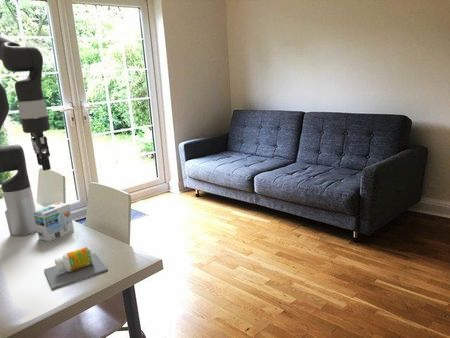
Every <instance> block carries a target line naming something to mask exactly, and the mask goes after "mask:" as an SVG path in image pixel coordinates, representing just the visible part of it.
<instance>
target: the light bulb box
mask: <svg viewBox="0 0 450 338" xmlns="http://www.w3.org/2000/svg"><path fill="white" fill-rule="evenodd" d="M33 213H34V218H35V223H36V227H37V231H36V232H37V235H38V239H39V240H42V241H45V242H48V243H49V242H52V241H54V240H56V239H59V238H61V237H63V236H66V235H68V234H71V233H73V232H74V231H75V228H74V223H73V218H72V213H71V207H70V203H66V202H65V203H64V202H60V201H57V202H55V203H53V204H49V205H46V206H44V207H41V208H39V209H36V210H35V211H33Z"/></svg>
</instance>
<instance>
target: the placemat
mask: <svg viewBox="0 0 450 338" xmlns="http://www.w3.org/2000/svg"><path fill="white" fill-rule="evenodd" d="M92 254H93V259H94V263H93V264H92V265H89V266H86V267H83V268H80V269H77V270H74V271H71V272H67V271H66V270H64V271H63V272H60V273H58V271H57V268H56V265H54V266H51V267H47V268H44V269H43V272H44V274H45V276H46V278H47V281H48V283H49V286H50V287H51V290H52V291H53V290H56V289H59V288H62V287H64V286H67V285H70V284H73V283H74V284H75V283H77V282H79V281H81V280H85V279H87V278H91V277H94V276H96V275H99V274H103V273H105V272H108V271H109V270H108V268H107V266H106V265H105V263H104V262H103V261H102V260H101V259H100V257H99V256H98V255H97V254H96V253H95V252H94V253H92Z"/></svg>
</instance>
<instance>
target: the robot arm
mask: <svg viewBox="0 0 450 338" xmlns="http://www.w3.org/2000/svg"><path fill="white" fill-rule="evenodd" d="M43 58H44V57H43V54H42V53H41V51H40V50H39V48H37V47H36V46H32V45H31V46H30V45H29V46H28V45H27V46H26V45H20V44H19V43H18V42H16V41H15V40H13V39H11V38H8V37H7V36H6V35H5V33H3V31H2V30H0V60H1V62H2V64H3V67H4V69H6V70H7V71H9V72H13V73H21V72H23V73H24V72H29V73H28V76H27V77H26V78H25V79H21V80H18V81H16V82H15V83H14V91H15V93H16V94H15V95H16V98H17V100H16V101H17V105H18V108H17V109H18V113H19V117H20V123H21V127H22V131H23V133H25V134H30V141H31V143H32V149H33V151H34V154H35V156H36V160H37V165H39V166H41V167H42V169H41V170H42V171H50V170H51V169H52V168H51V162H50V157H51V153H50V150H49V149H50V148H49V145H48V137H47V136H45V135H44V132H47V131H50V129H51V124H50V120H49V119H50V118H49V115H48V110H47V109H48V108H47V106H46V102H45V99H44V98H45V97H44V94H43V88H42V77H43V76H42V75H43V65H44V59H43ZM9 112H10V103H9V99H8V95H7V91H6V89H5V87H4V85H3V84H2V83H1V82H0V131H1V130H2V128H3V126H4V123H5V122H6V120H7V117H8V114H9ZM13 171H16V173H15V174H14V175H13V176H12V177H10V178H9V179H7V180H5V181H3V182H1V186H0V187H1V190H2V195H3V200H4V203H5V207H6V210H5V211H4V214H5V218H6V223H7V226H8V227H7V228H8V231H9V235H10V236H14V237H22V236H27V235H31V234H35V233H36V232H37V227H36V223H35V218H34V213H33V211H35V210H37V209H36V205H35V201H34V196H33V192H32V187H31V183H30V179H29V174H28V167H27V163H26V156H25V152H24V149H23V147H22V145H20V144H11V145H5V146H0V174H2V173H6V172H7V173H8V172H13Z"/></svg>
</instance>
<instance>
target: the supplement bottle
mask: <svg viewBox="0 0 450 338" xmlns="http://www.w3.org/2000/svg"><path fill="white" fill-rule="evenodd" d="M93 254H94V253H93V251H92V249H91V247H89V246H86V247H85V246H84V247H82V248H79V249H75V250H73V251H70V252H66V253H64V254H63V255H62V257H59V258H55V259H54V264H55V265H54V266H56V268H57V271H58V273H60V272H63V271H64V270H66V271H67V272H71V271H74V270H77V269H80V268H83V267H86V266H89V265H92V264H93V263H94V259H93Z"/></svg>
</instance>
